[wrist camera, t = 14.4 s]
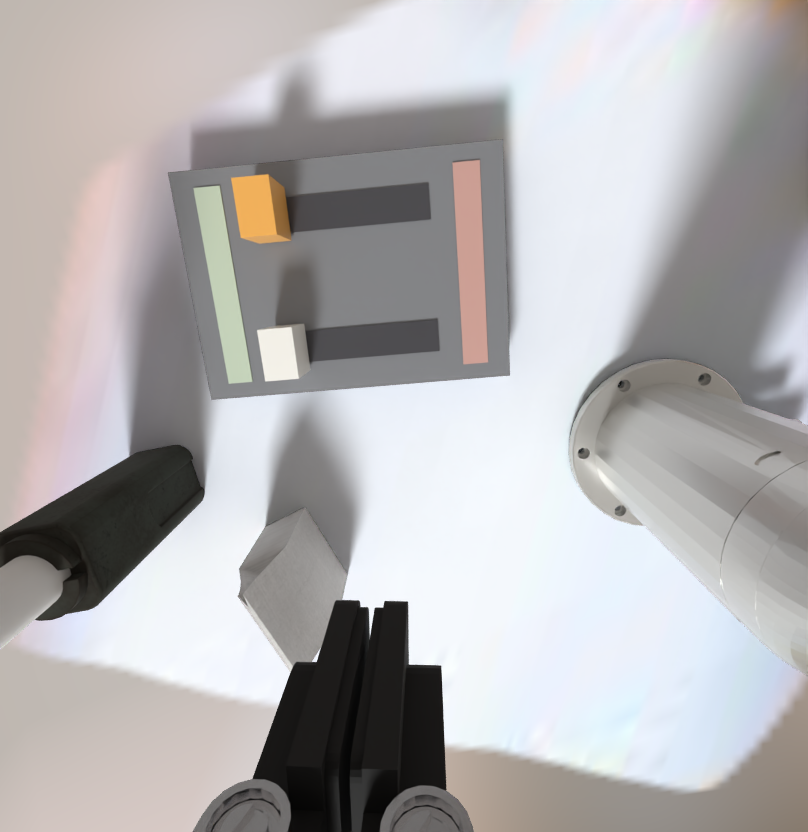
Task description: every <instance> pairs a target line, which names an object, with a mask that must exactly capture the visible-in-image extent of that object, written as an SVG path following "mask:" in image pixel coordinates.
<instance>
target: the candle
mask: <svg viewBox="0 0 808 832" xmlns="http://www.w3.org/2000/svg"><path fill="white" fill-rule="evenodd" d="M192 459H193V457H192V455H191V453H190V452H189V451H188V450H187V449H186V448H184V447H182V446H179V445H172V446H167V447H162V448H157V449H152V450H147V451H142V452H138V453H135V454H133V455H132V456H130V457H128V458H127V459H125V460H123V461H121V462H120V463H118V464H116V465H115V466H113V467H111V468H109V469H108V470H106V471H104V472H103V473H101V474H99V475H97V476H96V477H94V478H92V479H91V480H89V481H87V482H85V483H84V484H82V485H80V486H79V487H77V488H75V489H73V490H72V491H70V492H68V493H67V494H65V495H63V496H61V497H60V498H58V499H56V500H55V501H53V502H51V503H49V504H48V505H46V506H44V507H43V508H41V509H39V510H38V511H36V512H34V513H32V514H31V515H29V516H27V517H26V518H24V519H22V520H20V521H19V522H17V523H15V524H14V525H12V526H10V527H8V528H7V529H5V530H3V531H2V532H0V649H2V648H3V647H4V646H5V645H6V644H7V643H9V642H10V641H11V640H12V639H13V638H14V637H15V636H17V635H18V634H19V633H20V632H21V631H22V630H23V629H25V628H26V627H27V626H28V625H29V624H30V623H32V622H33V621H34V620H39V621H42V620H53V619H56V618H59V617H62V616H63V615H65V614H69V613H75V612H80V611H86V610H89V609H92V608H94V607H96V606H97V605H98V604H99V603H100V602H101V601H102V600H103V599H104V598H105V597H106V596H107V595H108V594H109V593H110V592H111V591H112V590H113V589H114V588H115V587H116V586H117V585H118V584H119V583H120V582H121V581H122V580H123V579H124V578H125V577H126V576H127V575H128V574H129V573H130V572H131V571H132V570H133V569H134V568H135V567H136V566H137V565H138V564H139V563H140V562H141V561H142V560H143V559H144V558H145V557H146V556H147V555H148V554H149V553H150V552H151V551H152V550H153V549H154V548H155V547H156V546H157V545H158V544H159V543H160V542H161V541H162V540H163V539H164V538H166V537H167V536H168V535H169V534H170V533H171V532H172V531H173V530H174V529H175V528H176V527H177V526H178V525H179V524H180V523H181V522H182V521H183V520H184V519H185V518H186V517H187V516H188V515H189V514H190V513H191V512H192V511H193V510H194V509H195V508H196V507H197V506H198V505H199V504H200V503H201V501H202V500H203V498H204V490H203V488H201V487H200V485H199V482H198V479H197V476H196V473H195V470H194V467H193V464H192V461H191V460H192Z"/></svg>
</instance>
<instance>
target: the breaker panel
mask: <svg viewBox="0 0 808 832" xmlns="http://www.w3.org/2000/svg"><path fill="white" fill-rule="evenodd" d="M266 174H269V175H270V176H271V177H272V178H273V179H275V180H276V181H277V182H278V183H279V184H281V185H282V186H283V187H284V188H285V196H286V203H287V210H288V217H289V225H290V232H291V239H292V241H283V242H273V243H262V244H259V243H256V242H252V241H249V240H246V239H243V238H241V236H240V230H239V224H238V218H237V211H236V205H235V199H234V193H233V187H232V181H231V178H235V177H245V176H255V175H266ZM168 176H169V181H170V186H171V191H172V196H173V202H174V207H175V212H176V217H177V222H178V228H179V233H180V238H181V243H182V248H183V254H184V259H185V264H186V269H187V274H188V280H189V285H190V290H191V295H192V300H193V306H194V311H195V316H196V321H197V327H198V332H199V337H200V342H201V347H202V353H203V358H204V363H205V368H206V373H207V379H208V384H209V389H210V394H211V399H212V400H215V399H227V398H240V397H252V396H264V395H276V394H288V393H301V392H313V391H325V390H337V389H350V388H362V387H374V386H386V385H399V384H411V383H423V382H435V381H448V380H460V379H472V378H484V377H496V376H509V375H510V363H509V330H508V297H507V264H506V231H505V198H504V165H503V139H500V140H490V141H480V142H470V143H460V144H450V145H440V146H430V147H420V148H409V149H399V150H389V151H379V152H369V153H359V154H349V155H339V156H329V157H319V158H309V159H299V160H289V161H279V162H269V163H259V164H249V165H239V166H229V167H219V168H209V169H199V170H189V171H179V172H169V173H168Z"/></svg>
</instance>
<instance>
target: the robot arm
mask: <svg viewBox="0 0 808 832" xmlns="http://www.w3.org/2000/svg"><path fill="white" fill-rule="evenodd" d="M699 376H700V379H699ZM698 379H699V380H698ZM620 381H622V385H621V386H620V387H618V384H619V382H620ZM581 448H583V450H582V451H581V452H578V451H579V450H580V449H581ZM569 458H570V465H571V470H572V472H573V475H574V478H575V480H576V483H577V484H578V486H579V487H580V489H581V490H582V492H583V493H584V495H585V496H586V497H587V498H588V499H589V500H590V502H591V503H592V504H593V505H594V506H596V507H597V508H598V509H599V510H601V511H602V512H603V513H604V514H606V515H608V516H610V517H611V518H613V519H615V520H618V521H621V522H625V523H628V524H631V525H639V526H645V527H646V528H647V529H648V530H649V531H650V532H651V533H652V534H653V535H654V536H655V537H656V538H657V539H658V540H659V541H660V542H661V543H662V544H663V545H664V546H665V547H666V548H667V549H668V550H669V551H670V552H671V553H672V554H673V555H674V556H675V557H676V558H677V559H678V560H679V561H680V562H681V563H682V564H683V565H684V566H685V567H686V568H687V569H688V570H689V571H690V572H691V573H692V574H693V575H694V576H695V577H696V578H697V579H698V580H699V581H700V582H701V583H702V584H703V585H704V586H705V588H706V589H707V590H708V591H709V592H710V593H711V594H712V595H713V596H714V597H715V598H716V599H717V600H718V601H719V602H720V603H721V604H722V605H723V606H724V607H725V608H726V609H727V610H728V611H729V612H730V613H731V614H732V615H733V616H734V617H735V618H736V619H737V620H738V621H740V622H741V623H742V624H743V625H744V626H745V627H746V628H747V629H748V630H749V631H750V632H751V633H752V634H753V635H754V636H755V637H756V638H757V639H758V640H759V641H760V642H761V643H762V644H763V645H764V646H765V647H767V648H768V649H769V650H770V651H771V652H772V653H773V654H775V655H776V656H777V657H778V658H780V659H781V660H782V661H784V662H785V663H787V664H788V665H789V666H791V667H792V668H794V669H796V670H797V671H799V672H801V673H803V674H804V675H806V676H808V425H806V424H803V423H802V422H801V421H800V420H798V419H788V418H785V417H782V416H779V415H776V414H773V413H770V412H767V411H764V410H761V409H758V408H755V407H752V406H749V405H746V404H744V403H743V401H742V400H741V398H740V396H739V394H738V392H737V391H736V390H735V389H734V388H733V386H732V385H731V384H730V383H729V382H728V381H727V380H726V379H725V378H723V377H722V376H721V375H719V374H718V373H716V372H715V371H713V370H711V369H709V368H707V367H704V366H702V365H700V364H696V363H692V362H689V361H685V360H676V359H657V360H648V361H645V362H641V363H637V364H634V365H631V366H629V367H627V368H625V369H623V370H621V371H618V372H617V373H615V374H614V375H612V376H611V377H609V378H608V379H607V380H605V381H604V382H602V383H601V384H600V385H599V386H598V387H597V388H596V389H595V390H594V391H593V392H592V393H591V394H590V396H589V397H588V398H587V400H586V401H585V403H584V404H583V405H582V407H581V408H580V410H579V413H578V415H577V417H576V419H575V421H574V423H573V427H572V431H571V435H570V441H569ZM617 506H618V507H617ZM616 507H617V508H616ZM193 832H474V831H473V826H472V824H471V821H470V818H469V816H468V813H467V811H466V810H465V808H464V807H463V806H462V804H461V803H460V802H459V800H458V799H457V798H455V797H454V796H453V795H451V794H450V793H449V792H447V791H446V770H445V745H444V721H443V697H442V673H441V666H438V665H409V651H408V602H403V601H385V602H384V607H383V608H375V610H374V617H373V623H372V629H371V635H369V609H368V607H360V601H353V600H336V601H335V603H334V606H333V609H332V613H331V616H330V619H329V623H328V626H327V630H326V633H325V636H324V640H323V643H322V646H321V650H320V653H319V657H318V660H317V662H296V663H295V664H294V666H293V668H292V670H291V673H290V676H289V678H288V681H287V684H286V687H285V690H284V692H283V695H282V698H281V701H280V703H279V706H278V709H277V712H276V715H275V717H274V720H273V723H272V726H271V729H270V731H269V734H268V737H267V740H266V743H265V746H264V748H263V752H262V754H261V757H260V759H259V762H258V765H257V768H256V771H255V773H254V776H253V779H251V780H247V781H244V782H240V783H237V784H235V785H234V786H232V787H230V788H228V789H226V790H225V791H223V792H222V793H221V794H220V795H219V796H218V797H217V798H216V799H214V800H213V801H212V802H211V804H210V805H209V807H208V808H207V809H206V811H205V812H204V813H203V815H202V816H201V818H200V820H199V821H198V823H197V825H196V827H195V829H194V830H193Z"/></svg>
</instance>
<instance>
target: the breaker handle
mask: <svg viewBox="0 0 808 832" xmlns="http://www.w3.org/2000/svg"><path fill="white" fill-rule="evenodd" d="M231 181H232V187H233V193H234V199H235V205H236V211H237V218H238V224H239V230H240V236H241V238H243V239H246V240H249V241H252V242H256V243H259V244H262V243H273V242H283V241H292V239H291V232H290V225H289V217H288V210H287V203H286V196H285V188H284V187H283V186H282V185H281V184H279V183H278V182H277V181H276V180H275V179H273V178H272V177H271V176H270V175H269V174H266V175H255V176H245V177H235V178H231Z"/></svg>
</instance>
